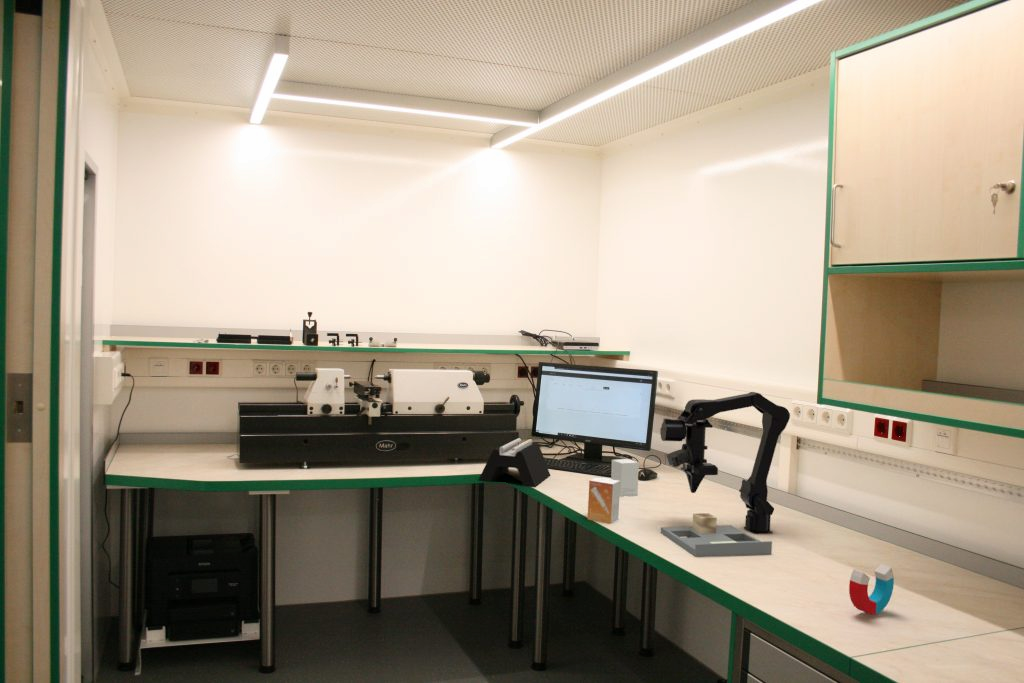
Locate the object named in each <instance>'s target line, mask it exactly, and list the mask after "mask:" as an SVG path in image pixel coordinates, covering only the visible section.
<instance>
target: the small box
mask: <svg viewBox="0 0 1024 683" xmlns="http://www.w3.org/2000/svg"><path fill="white" fill-rule="evenodd" d="M588 483H589V484H588V501H587V505H588V506H587V520H588V521H595V522H599V523H605V524H610V525H611V524H613V523H615V522H617V521H618V520H619V516H620V514H619V512H620V481H619V480H612V479H611V478H604V477H594V478H591V479H590V480H589V482H588Z"/></svg>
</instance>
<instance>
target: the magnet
mask: <svg viewBox="0 0 1024 683" xmlns="http://www.w3.org/2000/svg"><path fill="white" fill-rule="evenodd" d="M874 576H875V584H874V588H873V590H872V592H871V594H870V595H869V594H868V592H869V591H868V586H869V584H870V583H869V582H870V579H871V577H870V576H869V575H867V574H866V573H865V572H864V571H861V570H857V569H852V572H851V575H850V578H849V585H848V586H849V587H848V591H849V593H848V594H849V598H850V601H851V603H852V605H853V607H854V608H856V609H857V610H858V611H861V612H864V613H865V614H868V615H877V614H879V613H881V612H882V611H884V609H885V608H886V607H887V606H888V604H889V603H890V600H891V598H892V596H893V590H894V586H895V585H894V584H895V583H894V582H895V581H894V580H895V579H894V571H893V568H892V567H891V566H889V565H886V564H883V563H880V564H879V566H877V568H876V569H875V570H874Z"/></svg>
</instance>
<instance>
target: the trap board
mask: <svg viewBox="0 0 1024 683" xmlns="http://www.w3.org/2000/svg"><path fill="white" fill-rule="evenodd" d="M692 527H693V525H691V526H689V525H688V526H687V525H686V526H664V527H663V526H661V527H660V534H662V535H663V536H665V537H666V538H667V539H668V540H670V541H671V542H673V543H675V544H676V545H678V546H679V547H681V548H682V549H684V550H685V551H686V552H688V553H689V554H690V555H692V556H694V558H695V557H696V558H702V557H703V558H704V557H705V558H708V557H709V558H711V557H712V558H713V557H737V556H738V557H739V556H740V557H741V556H762V555H772V551H773V550H772V549H773V548H772V547H773V541H771V540H767V541H765V540H764V541H763V540H759V538H758V539H757V538H756V537H754V536H752V535H750V534H748V533H747V532H745V531H743V530H741V529H739V528H737V527H735V526H733V525H731V524H719V525H716V533H703V534H700V533H699V532H697V531H695V530H694V529H692Z"/></svg>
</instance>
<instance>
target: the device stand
mask: <svg viewBox="0 0 1024 683" xmlns="http://www.w3.org/2000/svg"><path fill="white" fill-rule="evenodd" d="M521 441H522V439H521V438H520V437H519V438H516V439H514V440H510V441H509V442H507V443H504V444H502V445H501V446H499V447H497V448H495V449H493V450H492V452H491V453H490V456H488V457H489V458H488V459H487V461H486V463H485V466H483V469H482V472H481V474H480V476H479V478H478V481H479V482H486V483H492V482H494V481H495V480H497V479H499V478H501V477H502V476H503V475H505V474H506V473H509V471H510V470H509V469H510V468H513V469H516V470H517V471H518V474H519V477H520V480H521V483H522V484H521V487H528V488H529V487H530V488H537V487H538V486H539V485H541V484H542V483H543V482H545V481H546V480H547V479H548V478H550V477H551V473H550V471H549V468H548V465H547V463H546V460H545V458H544V454H543V452H542V449H541V447H540V444H539V443H538V442H533V439H532V438H531V439H527V440H525V441H523V442H521ZM520 442H521V443H520ZM519 443H520V444H519Z"/></svg>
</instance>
